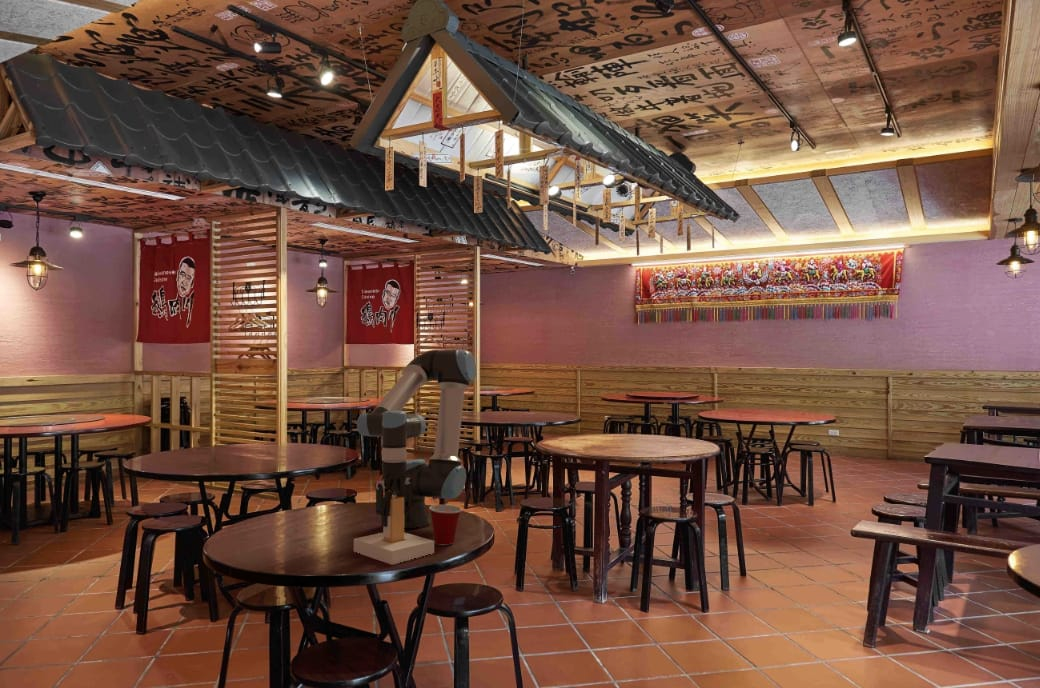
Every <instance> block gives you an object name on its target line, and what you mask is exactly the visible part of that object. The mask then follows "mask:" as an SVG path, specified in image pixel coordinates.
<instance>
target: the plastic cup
mask: <svg viewBox="0 0 1040 688" xmlns="http://www.w3.org/2000/svg"><path fill="white" fill-rule="evenodd" d="M428 508H429V511H430V514H431V516H430V517H431V521H432V528H433V534H434V539H435V540H434V542H435V544H436V543H437V544H450V543H453V542H454V543H455V538H456V533H457V528H458V523H459V518H460V515H461V512H463V508H462V507H460V506H457V505H456V506H455V505H451V504H434V505H430V506H429V507H428ZM454 543H453V544H454ZM437 544H436V545H437Z"/></svg>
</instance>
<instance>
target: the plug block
mask: <svg viewBox="0 0 1040 688" xmlns="http://www.w3.org/2000/svg"><path fill="white" fill-rule="evenodd" d="M388 516H391V537H390V538H387V537H384V541H385V542H389V543H396V542H400V541H404V532H405V529H404V497H399V496H396V495H395V496H393V495H392V499H391V501H390V509H389V515H388Z"/></svg>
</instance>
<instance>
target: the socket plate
mask: <svg viewBox="0 0 1040 688" xmlns="http://www.w3.org/2000/svg"><path fill="white" fill-rule="evenodd" d="M356 552H357V554H359V553H360V554H359V555H363V556H365V557H369V558H371V559H374V560H378V561H380V562H383V563H385V564H388V565H392V566H393V565H397V564H400V562H401V563H404V561H405V562H408V561H412V560H415V559H414V558H416V559H420V558H422V557H421V556H424V557H426V556H425V555H428V554H431V555H433V554H432V553H434V554H435V540H432V539H428V538H425V537H421V536H419V535H415V534H411V533H408V532H405V531H404V541H400V542H396V543H389V542H385V541H384V536H383V532H378V533H375V534H370V535H366V536H361V537H356V538H353V553H356ZM428 556H429V555H428ZM419 557H420V558H419ZM411 559H412V560H411Z"/></svg>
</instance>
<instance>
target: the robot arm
mask: <svg viewBox="0 0 1040 688" xmlns="http://www.w3.org/2000/svg"><path fill="white" fill-rule="evenodd" d="M476 377H477V363H476V360H475V358H474V356H473V354H472V353H471V352H470V351H468V350H466V349H465V350H464V349H463V350H462V349H445V350H444V349H432V350H428V351H425V352H424V353H421V354H419V355H417V356H416V357H415V358H413V359H412V360H411V361H410V362H408V364H407V365H406V366H405V367H404V368H403V371H402V375H401V376H400V378H399V379H398V380H397V381H396V383H395V384H393V386H392V387H391V389H389V391H388V392H387V393H386V394H385V395H384V397H383V398H382V399H381V401H380V402H379V403H378V404H377V405H376V406H375V407H374V409H373V410H372V412H366V413H361V414H360V415H359V416H358V418H357V421H356V429H357V431H358V433H359V435H361V436H365V437H367V436H368V437H371V438H373V437H377V438H378V437H381V438H382V439H381V441H382V445H381V446H382V447H381V458H382V462H381V473H382V478H381V480H380V481H378V482H375V483H373V484H374V489H375V515H378V516H381V526H382V529H383V531H382V533H383V536H384V537H387V538H390V537H391V516H388V515H389V509H390V501H391V499H392V496H395V495H396V496H399V497H404V528H414V529H417V528H416V527H421V528H423V527H422V526H425V525H427V524H429V523H431V521H430V517H431V516H430V515H429V512H428V509H427V505H426V498H435V499H436V498H437V499H444V500H446V499H451V500H452V499H456V498H458V497H459V496H460V495H461V493H462V492H463V491H464V489H465V485H466V481H467V473H466V472H467V471H466V468H465V467H464V466H463V465H462V460H461V459H460V458H459V447H460V438H461V437H460V435H461V427H462V417H463V407H464V398H465V397H464V396H465V391H466V390H468V389H469V387H470V383H471V382H474V381H475V380H476ZM429 382H437V386H438V387H439V389H440V396H439V405H438V416H437V421H436V422H437V424H436V433H435V441H434V453H433V455H431V456H430V457H429V460H428V463H427V462H426V460H425V459H422V458H419V459H408V458H407V457H408V455H407V440H408V439H413V438H415V439H416V438H417V437H420V436H421V435H423V434H424V432H425V431H426V429H427V423H426V420H425V418H424V417H423V415H420V414H418V413H410V414H407V412H406V411H405V410H403V409H404V408H405V407H406V405H407V404H408V402H410V400H411V398H412V397H413V396H414V394H415V393H416V392H417V391H418V389H419V388H422V387H424V386H425V385H426V383H429ZM407 459H408V460H407ZM429 525H430V524H429ZM427 526H428V525H427ZM425 527H426V526H425Z"/></svg>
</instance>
